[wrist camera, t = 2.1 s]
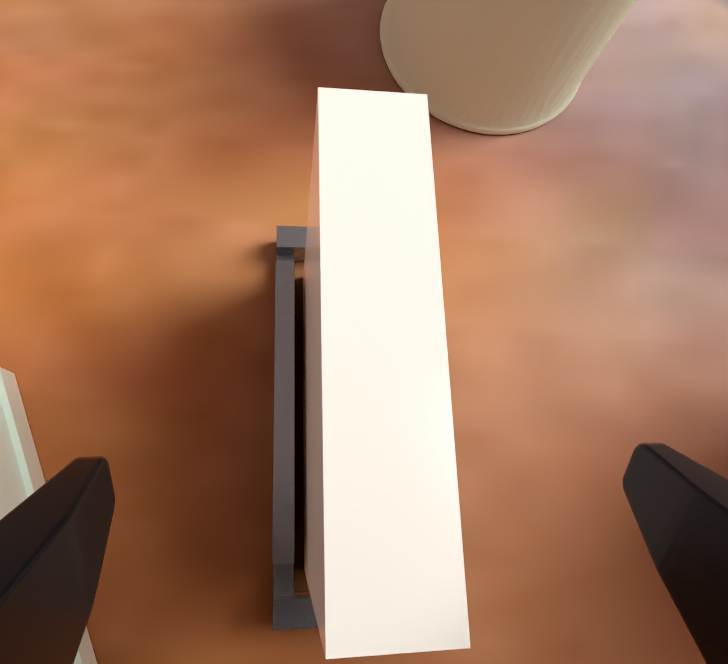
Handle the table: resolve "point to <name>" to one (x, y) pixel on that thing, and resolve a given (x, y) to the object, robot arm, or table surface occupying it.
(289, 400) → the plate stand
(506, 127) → the can
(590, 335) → the table surface
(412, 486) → the white block
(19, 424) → the dish rack
